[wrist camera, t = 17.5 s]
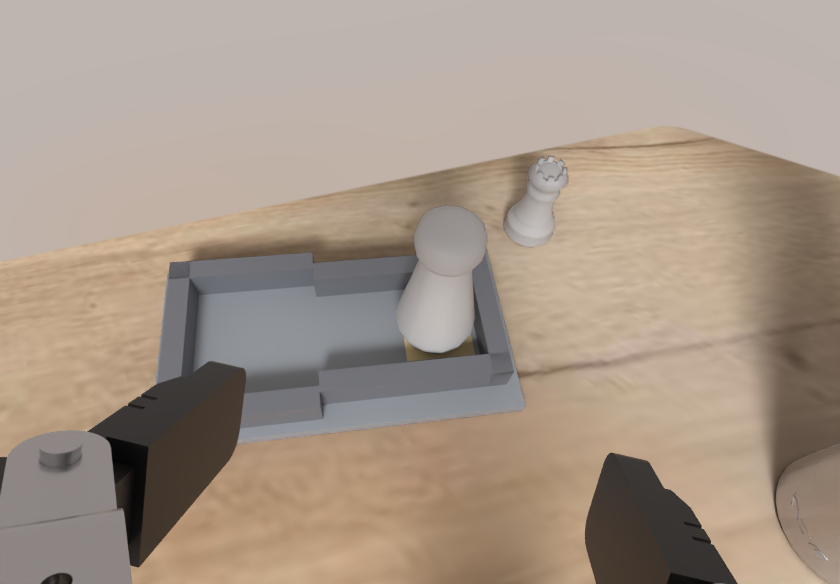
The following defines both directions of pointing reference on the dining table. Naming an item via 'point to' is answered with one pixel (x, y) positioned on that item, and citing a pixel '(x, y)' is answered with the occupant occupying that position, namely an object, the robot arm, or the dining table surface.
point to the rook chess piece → (537, 204)
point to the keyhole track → (331, 344)
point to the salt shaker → (442, 280)
